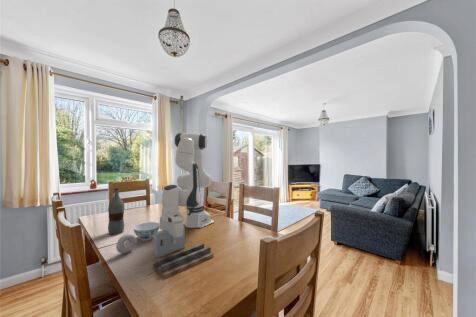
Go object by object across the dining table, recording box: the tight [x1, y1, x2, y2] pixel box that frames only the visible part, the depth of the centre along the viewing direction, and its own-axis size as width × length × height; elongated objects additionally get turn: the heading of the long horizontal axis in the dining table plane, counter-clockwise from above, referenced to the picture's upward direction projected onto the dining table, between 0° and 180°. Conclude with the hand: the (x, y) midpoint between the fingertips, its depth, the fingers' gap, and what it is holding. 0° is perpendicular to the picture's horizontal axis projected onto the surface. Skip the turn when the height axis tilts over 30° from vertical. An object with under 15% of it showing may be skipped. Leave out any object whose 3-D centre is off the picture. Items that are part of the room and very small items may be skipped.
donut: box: [115, 233, 138, 255], centre depth 104 cm, size 10×4×10 cm, turn 142°
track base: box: [152, 242, 214, 279], centre depth 95 cm, size 26×12×4 cm, turn 136°
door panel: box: [154, 225, 186, 258], centre depth 106 cm, size 16×3×12 cm, turn 136°
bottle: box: [107, 187, 125, 236], centre depth 132 cm, size 9×9×30 cm
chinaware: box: [133, 221, 160, 241], centre depth 123 cm, size 15×15×8 cm
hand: (170, 241), depth 106 cm, fingers open, 7 cm apart
